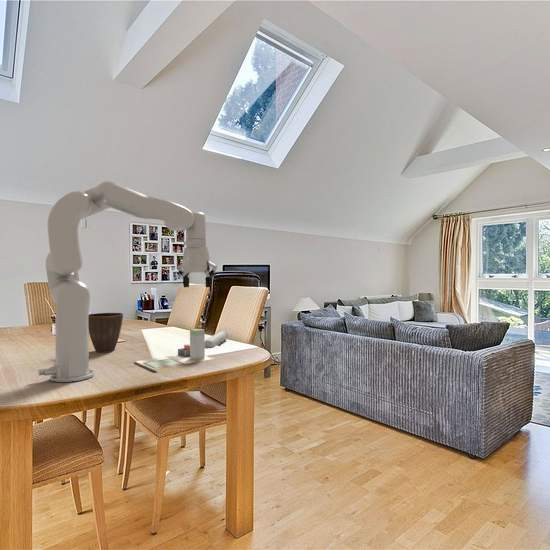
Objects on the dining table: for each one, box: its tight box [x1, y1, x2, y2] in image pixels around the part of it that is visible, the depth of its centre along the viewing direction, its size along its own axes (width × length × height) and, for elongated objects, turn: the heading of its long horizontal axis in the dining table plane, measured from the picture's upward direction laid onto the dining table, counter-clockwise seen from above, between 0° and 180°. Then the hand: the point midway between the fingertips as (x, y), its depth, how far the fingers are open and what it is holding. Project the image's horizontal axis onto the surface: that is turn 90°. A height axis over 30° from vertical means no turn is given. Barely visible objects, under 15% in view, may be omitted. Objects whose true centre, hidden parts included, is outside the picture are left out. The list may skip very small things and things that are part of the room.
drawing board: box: [133, 347, 215, 374], centre depth 146 cm, size 25×17×4 cm
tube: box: [205, 330, 228, 349], centre depth 183 cm, size 5×5×25 cm
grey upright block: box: [189, 328, 206, 360], centre depth 148 cm, size 4×4×11 cm
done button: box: [183, 344, 190, 350], centre depth 155 cm, size 3×3×2 cm
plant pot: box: [88, 312, 124, 354], centre depth 169 cm, size 15×15×16 cm
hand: (197, 287), depth 154 cm, fingers open, 9 cm apart
